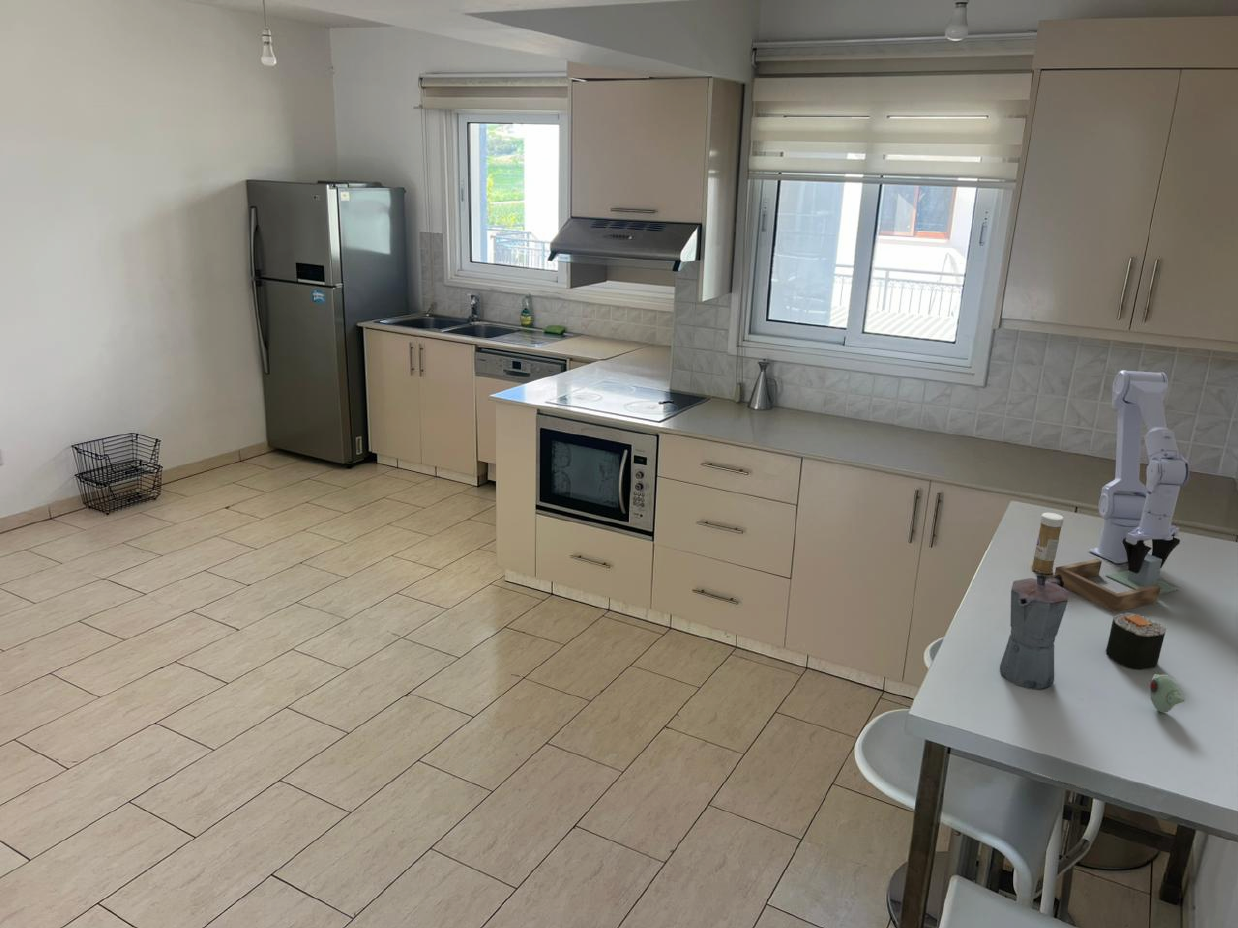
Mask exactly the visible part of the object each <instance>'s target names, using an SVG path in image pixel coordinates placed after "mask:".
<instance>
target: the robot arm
mask: <svg viewBox="0 0 1238 928" xmlns="http://www.w3.org/2000/svg"><path fill="white" fill-rule="evenodd" d="M1169 385H1170V384H1169V379H1168V376H1167V374H1166V373H1165V372H1163V371H1162V372H1161V371H1160V372H1151V371H1147V372H1146V371H1134V370H1126V369H1122V370H1119V371H1118V373H1117V374H1116V376H1115V378H1114V380H1113V382H1112V395H1111V399H1112V406H1113V407H1114V408H1116V409H1117V428H1116V429H1117V430H1116V431H1117V434H1116V453H1115V454H1116V455H1115V457H1116V458H1115V478H1114V479H1113V480H1112V481H1110V482H1108V483H1107V484H1104V485H1103V487H1102V488H1101V492H1100V493H1101V494H1100V498H1099V500H1098V513H1099V515H1100V516H1101V518H1102V519H1104V520H1103V524H1102V529H1101V534H1100V537H1099V542H1098V547H1095V548H1089V550H1088V552H1090V553H1092V554H1094V555H1096V556H1099V557H1101V558H1104V559H1106V560H1108V561H1111V562H1113V563H1115V564H1124V563H1127V570H1129V571H1131V572H1133V573H1136V574H1137V573H1139V571H1140V569H1141V566H1142V564H1143V561H1144V559H1145V557H1146V555H1147V553H1148V554H1149V552H1150V551H1151V555H1153V556H1155V557H1158V558H1160V559H1162V562H1161V567H1160V569H1162V568H1163V566H1164V564H1165V563H1166V561H1167V560H1168V558H1169V556H1170V555H1171V552H1173V550H1175V548H1177V546H1178V545H1180V542H1181V539H1179V538H1177V537H1178V536H1179V533H1180V527H1177V526H1176V525H1173V524H1172V521H1173V517H1174V514H1175V509H1176V505H1177V500H1178V498H1179V493H1180V489H1181V487H1184V486H1185V485H1187V483H1188V480H1189V478H1190V473H1191V472H1190V464H1189V462H1188V460H1187V459H1186V458H1184V455H1182V454H1180V452H1179V449H1178V445H1177V440H1176V437H1175V433H1174V431H1173V430H1171V429H1169V428H1167V421H1166V414H1165V407H1164V406H1165V405H1164V400H1165V398H1166V396H1167V393H1168V390H1169ZM1143 421H1144V424H1145V427H1146V430H1147V433H1145V435H1144V438H1143V439H1144V440H1143V441H1144V445H1145V448H1146V452H1147V456H1148V462H1149V463H1148V465H1147V467H1146V483H1145V484H1146V485H1145V484H1143V483H1142V482H1141V481H1140V473H1141V450H1142V449H1141V447H1142V425H1143ZM1145 541H1146V542H1147V541H1151V544H1152V547H1150V546H1148V545H1146V543H1145Z"/></svg>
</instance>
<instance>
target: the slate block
mask: <svg viewBox="0 0 1238 928" xmlns="http://www.w3.org/2000/svg"><path fill="white" fill-rule="evenodd" d="M1161 562H1162V559H1160V558H1158V557H1155V556H1153V555H1152V554H1150V553H1149V552H1148V553H1147V555H1146V557H1145V559H1144V561H1143V564H1142V566H1141V569H1140V571H1139V573H1137V574H1136V573H1133V572H1131V571H1130V572H1129V577H1128V580H1130V581H1132V582H1134V583H1136V584H1139V585H1141V586H1143V587H1147V586H1151V585H1155V584H1156V583H1157V580H1159V579H1158V578H1159V575H1160V570H1161V568H1160V567H1161Z"/></svg>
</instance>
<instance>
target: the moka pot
mask: <svg viewBox="0 0 1238 928" xmlns="http://www.w3.org/2000/svg"><path fill="white" fill-rule="evenodd" d="M1063 586H1064V582H1063V581H1062V577H1061V575H1060V574H1058V575H1057V576H1055V577H1054V576H1053V577H1049V578H1047V576H1046V575H1045V574H1038V575H1036V578H1034V577H1029V578H1024V579H1016V580H1014V581H1013V582H1012V586H1011V589H1010V628H1011V629H1010V634H1009V637H1008V640H1007V643H1006V645H1005V650H1004V652H1003V655H1002V658H1001V662H1000V665H999V672H1000V675H1001V677H1003V678H1004V679H1005V680H1006V681H1008V682H1009V683H1011V684H1013V685H1015V686H1019V687H1021V688H1025V689H1031V690H1032V689H1033V690H1040V689H1043V690H1044V689H1046V688H1049V687H1050V686H1051V685H1052V684H1053V683H1054V682H1055V641H1056V637H1057V635H1058V634H1059V633H1058V632H1059V630H1060V627H1061V623H1062V620H1063V617H1064V614H1065V611H1066V608H1067V605H1068V601H1069V592H1070V591H1069V590H1068V589H1067V588H1065V587H1063Z"/></svg>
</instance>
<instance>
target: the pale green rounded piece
mask: <svg viewBox="0 0 1238 928" xmlns="http://www.w3.org/2000/svg"><path fill="white" fill-rule="evenodd" d="M1150 681H1151V682H1150V684H1149V696H1150V697H1149V698H1150V701H1151V702H1152V704H1153V706H1154V708H1155V709H1156V710H1157V711H1158V712H1160V713H1164V714H1165V713H1168V712H1170V711H1171V710H1172V709H1173V708H1174V707H1175V706H1177V705H1179V704H1181V703H1184V702H1186V700H1185V698H1184V697H1183V695H1182V693H1181V690H1180V687H1179V685H1178V683H1177V681H1176V680H1175V679H1174V678H1173V677H1171V676H1169V675H1168V674H1157V673H1155V674H1154V675H1153V676H1152V678H1151V680H1150Z"/></svg>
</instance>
